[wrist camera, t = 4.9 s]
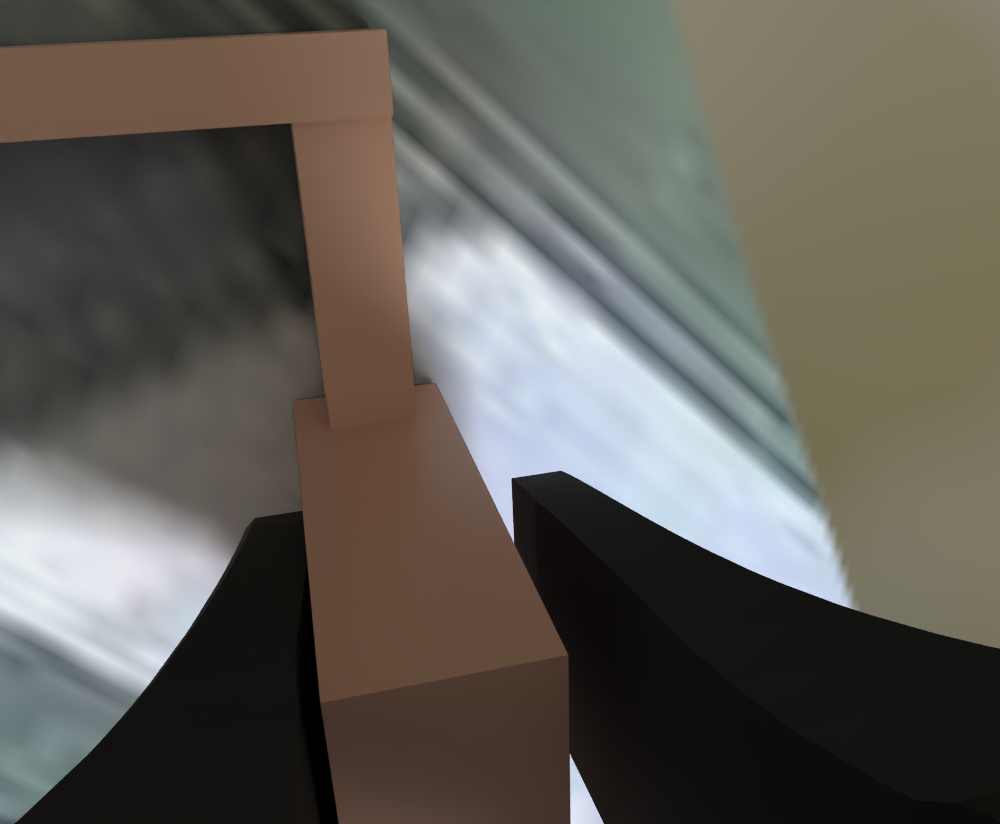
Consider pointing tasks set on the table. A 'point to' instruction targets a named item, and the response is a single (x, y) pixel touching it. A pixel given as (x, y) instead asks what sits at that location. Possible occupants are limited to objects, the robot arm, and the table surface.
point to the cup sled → (359, 436)
